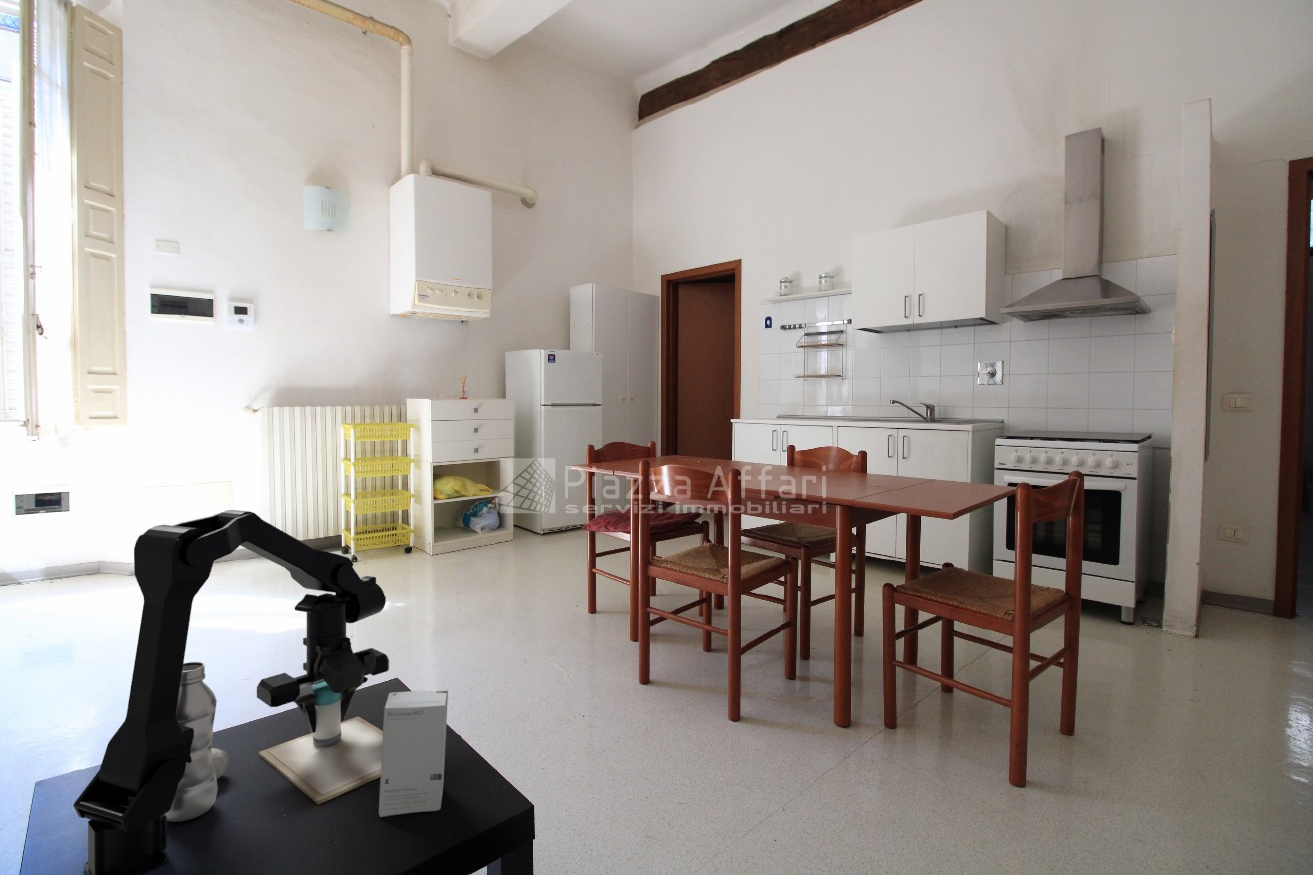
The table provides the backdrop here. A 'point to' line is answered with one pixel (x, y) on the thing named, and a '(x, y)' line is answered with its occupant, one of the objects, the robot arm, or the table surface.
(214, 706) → the plastic bottle
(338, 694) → the cylinder
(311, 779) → the picture frame
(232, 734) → the table surface
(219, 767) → the garlic
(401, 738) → the skincare box
